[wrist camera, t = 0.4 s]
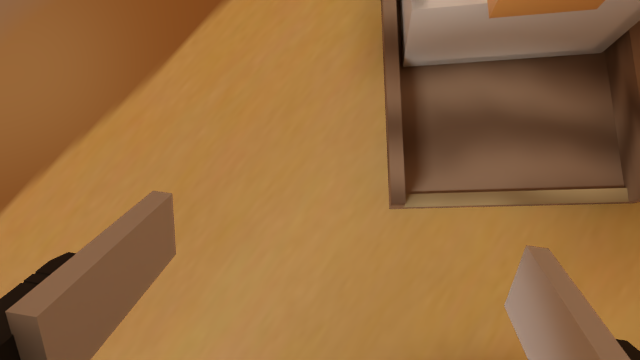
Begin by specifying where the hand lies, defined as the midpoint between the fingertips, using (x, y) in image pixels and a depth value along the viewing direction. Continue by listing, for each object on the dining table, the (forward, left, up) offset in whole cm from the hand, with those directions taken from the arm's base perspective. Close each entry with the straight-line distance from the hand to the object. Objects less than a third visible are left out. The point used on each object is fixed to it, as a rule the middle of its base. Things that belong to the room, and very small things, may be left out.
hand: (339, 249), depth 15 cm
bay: (+15, -12, -17) cm, 26 cm away
